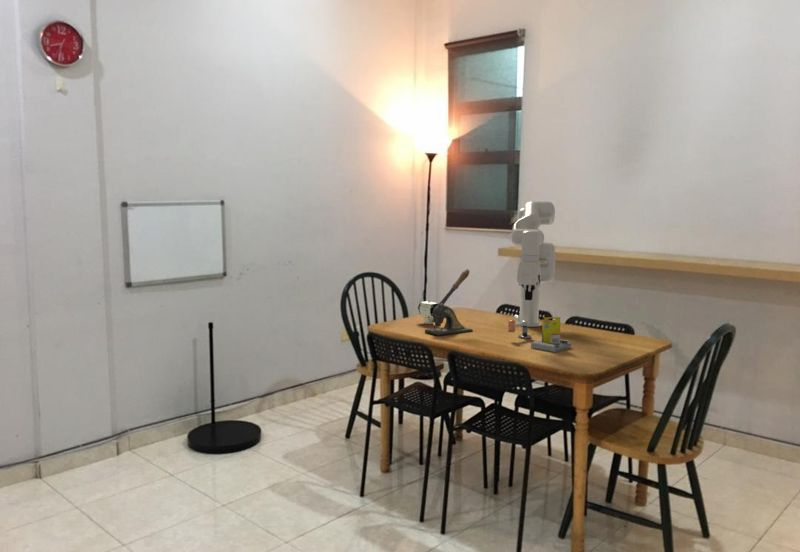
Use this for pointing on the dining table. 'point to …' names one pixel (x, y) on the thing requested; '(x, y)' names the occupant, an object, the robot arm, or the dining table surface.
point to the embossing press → (448, 314)
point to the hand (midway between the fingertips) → (528, 299)
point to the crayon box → (551, 330)
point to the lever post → (524, 333)
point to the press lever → (517, 324)
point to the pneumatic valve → (427, 310)
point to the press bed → (551, 346)
